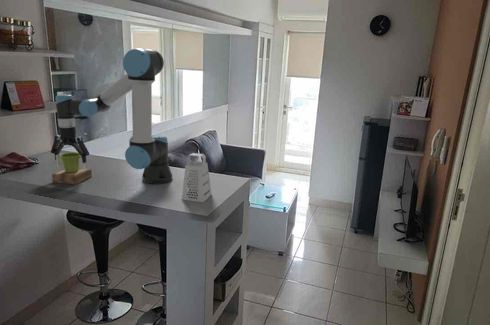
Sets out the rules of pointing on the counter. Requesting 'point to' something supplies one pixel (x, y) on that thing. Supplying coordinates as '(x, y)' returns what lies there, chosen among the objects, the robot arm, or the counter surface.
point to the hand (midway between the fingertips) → (71, 167)
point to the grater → (196, 179)
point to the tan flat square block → (71, 176)
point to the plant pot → (70, 162)
